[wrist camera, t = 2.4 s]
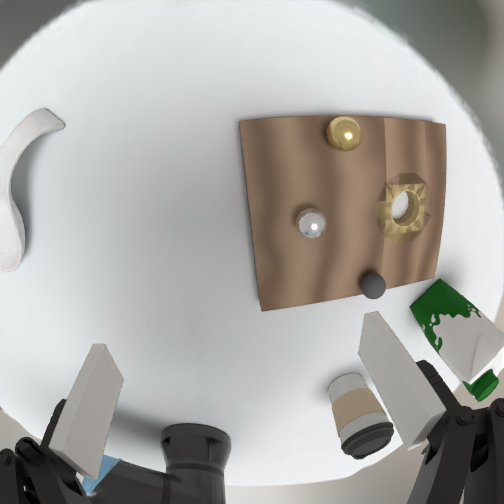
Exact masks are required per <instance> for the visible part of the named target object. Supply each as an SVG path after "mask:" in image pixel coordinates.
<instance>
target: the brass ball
mask: <svg viewBox="0 0 504 504" xmlns="http://www.w3.org/2000/svg"><path fill="white" fill-rule="evenodd" d="M327 138H328V141H329V143H330V144H331V145H332V146H333V147H334V148H335V149H337V150H339V151H343V152H349V151H352V150H354V149H356V148H357V147H358V146H359V145H360V143H361V141H362V130H361V128H360V126H359V124H358V123H357V122H356V121H354V120H353V119H351V118H348V117H338V118H336V119H334V120H332V121H331V122H330V124H329V125H328V128H327Z"/></svg>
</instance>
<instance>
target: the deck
mask: <svg viewBox="0 0 504 504" xmlns="http://www.w3.org/2000/svg"><path fill="white" fill-rule="evenodd" d="M338 117H348V118H351V119H353V120H354V121H356V122H357V123H358V124H359V126H360V128H361V130H362V141H361V143H360V145H359V146H358V147H357V148H356V149H354V150H352V151H349V152H343V151H339V150H337V149H335V148H334V147H333V146H332V145H331V144H330V143H329V141H328V138H327V128H328V125H329V124H330V122H331V121H332V120H334V119H336V118H338ZM239 128H240V136H241V145H242V153H243V162H244V170H245V179H246V188H247V196H248V205H249V213H250V222H251V231H252V239H253V248H254V257H255V265H256V274H257V283H258V291H259V300H260V305H261V310H262V311H269V310H276V309H283V308H289V307H295V306H301V305H307V304H313V303H319V302H324V301H330V300H335V299H341V298H346V297H351V296H356V295H361V294H363V292H362V290H361V283H362V281H363V279H364V278H365V277H366V276H367V275H369V274H372V273H376V274H379V275H381V276H382V277H383V278H384V280H385V283H386V289H390V288H394V287H398V286H403V285H407V284H411V283H416V282H420V281H424V280H428V279H432V278H434V277H435V272H436V267H437V261H438V255H439V249H440V242H441V234H442V226H443V217H444V206H445V192H446V124H441V123H434V122H427V121H418V120H409V119H398V118H385V117H367V116H298V117H280V118H266V119H255V120H245V121H240V122H239ZM403 191H406V192H407V195H408V197H409V207H408V209H407V211H406V213H405V215H404V216H403V217H401V218H400V219H399V220H393V218H392V216H391V210H392V204H393V202H394V200H395V197H396V196H397V195H399V194H400V193H401V192H403ZM307 208H315V209H318V210H320V211H321V212H322V213H323V214H324V216H325V218H326V221H327V227H326V230H325V232H324V233H323V234H322V235H321V236H320V237H318V238H316V239H307V238H305V237H303V236H302V235H301V234H300V233H299V232H298V230H297V227H296V219H297V217H298V215H299V213H300V212H301V211H303V210H305V209H307Z"/></svg>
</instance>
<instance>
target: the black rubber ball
mask: <svg viewBox="0 0 504 504" xmlns="http://www.w3.org/2000/svg"><path fill="white" fill-rule="evenodd" d="M385 289H386V283H385V280H384V278H383V277H382V276H381V275H379V274H376V273H372V274H369V275H367V276H366V277H365V278H364V279H363V281H362V283H361V290H362V292H363V294H364V295H365V296H366V297H367V298H369V299H377V298H379V297H381V296H382V295H383V294H384V292H385Z"/></svg>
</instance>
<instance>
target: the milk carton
mask: <svg viewBox="0 0 504 504" xmlns="http://www.w3.org/2000/svg"><path fill="white" fill-rule="evenodd" d="M410 308H411V310H412V312H413V314H414V316H415V317H416V319H417V321H418V323H419V325H420V327H421V329H422V331H423V333H424V334H425V336H426V338H427V340H428V341H429V343H430V344H431V345H432V347H433V348H434V349H435V350H436V352H437V353H438V354H439V355H440V357H441V358H442V359H443V361H444V362H445V363H446V364H447V366H448V367H449V368H450V370H451V371H452V372H453V373H454V375H455V376H456V377H457V378H458V380H459V381H460V382H461V383H462V384H463V385H464V387H465V388H466V389H467V390H468V392H469V393H470V394H471V396H472V397H475V398H476V400H477V401H478V402H480V401H482V400H484V399H485V398H486V397H487V396H489V395H490V394H491V392H492V391H493V390H494V389H495V388H496V386H497V385H498V383H499V380H498V378H497V377H496V376H497V375H498V374H499V372H500V371H501V370H502V369H503V367H504V333H503V332H502V331H501V330H500V329H499V328H498V327H496V325H494V324H493V323H492V322H491V321H490V320H489V319H488V318H487V317H486V316H485V315H484V314H483V313H482V312H481V311H479V310H478V309H477V308H476V307H475V306H474V305H473V304H472V303H471V302H469V301H468V300H467V299H466V298H465V297H464V296H462V295H461V294H460V293H459V292H457V291H456V290H455V289H453V288H452V287H451V286H449V285H448V284H446V283H445V282H444V281H442V280H441V279H439V280H438V281H437V282H436V283H435V284H434V285H433V286H432V287H431V288H430V289H429V290H428V291H426V292H425V293H424V294H423V295H422V296H421V297H420V298H419V299H418V300H417V301H416V302H415V303H414V304H412V305H411V306H410Z"/></svg>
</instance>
